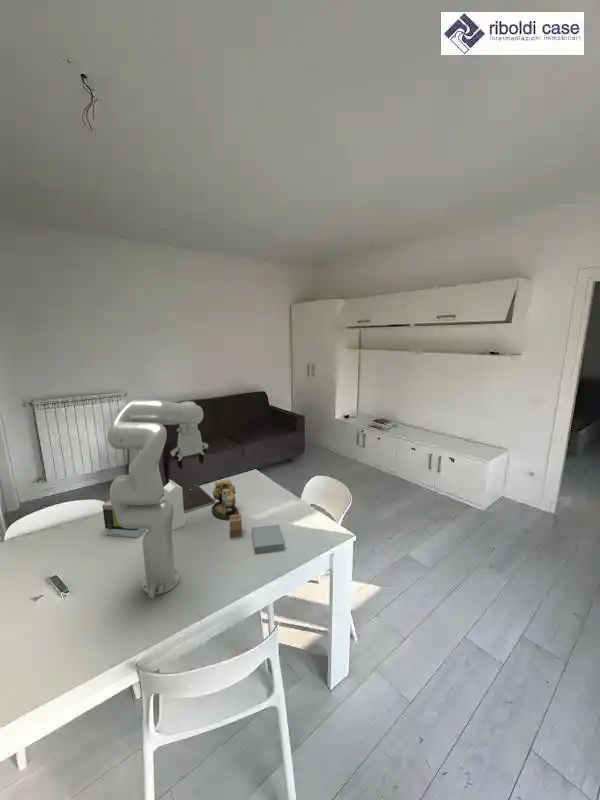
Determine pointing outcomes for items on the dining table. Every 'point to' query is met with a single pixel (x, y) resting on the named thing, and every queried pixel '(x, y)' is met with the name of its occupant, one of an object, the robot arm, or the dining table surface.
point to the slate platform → (267, 539)
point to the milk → (175, 503)
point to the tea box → (117, 524)
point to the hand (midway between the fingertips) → (190, 465)
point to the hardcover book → (195, 498)
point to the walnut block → (235, 526)
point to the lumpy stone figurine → (224, 500)
